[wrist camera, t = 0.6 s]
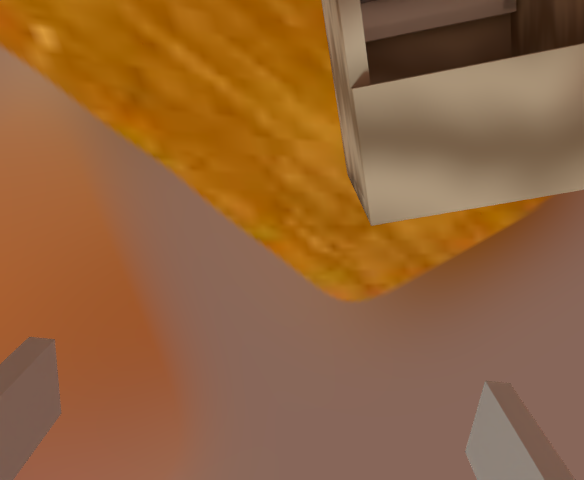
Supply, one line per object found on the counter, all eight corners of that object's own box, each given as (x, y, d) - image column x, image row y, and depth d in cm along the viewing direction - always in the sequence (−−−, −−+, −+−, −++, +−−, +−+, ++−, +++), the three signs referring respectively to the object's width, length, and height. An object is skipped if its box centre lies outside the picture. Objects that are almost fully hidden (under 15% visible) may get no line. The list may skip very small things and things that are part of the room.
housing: (319, -16, 33) (329, -79, 20) (518, -59, 32) (669, -156, 19) (347, 174, 38) (371, 225, 24) (522, 142, 36) (647, 178, 23)
